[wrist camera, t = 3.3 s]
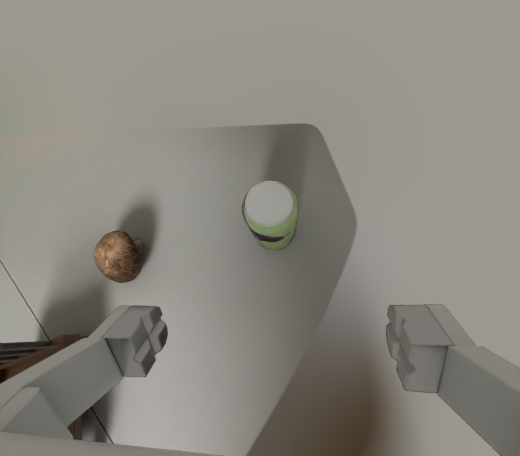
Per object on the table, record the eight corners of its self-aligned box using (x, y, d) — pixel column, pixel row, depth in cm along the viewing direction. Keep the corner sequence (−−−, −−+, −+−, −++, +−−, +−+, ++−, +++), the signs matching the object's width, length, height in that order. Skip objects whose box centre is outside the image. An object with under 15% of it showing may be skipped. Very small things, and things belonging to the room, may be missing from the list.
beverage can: (274, 205, 38) (258, 156, 27) (312, 234, 35) (311, 192, 24) (246, 235, 37) (217, 197, 26) (282, 267, 34) (267, 239, 24)
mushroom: (141, 215, 38) (100, 224, 33) (167, 260, 38) (130, 277, 33) (117, 238, 42) (78, 249, 37) (140, 279, 42) (104, 296, 37)
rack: (104, 473, 30) (-3, 546, 20) (22, 502, 30) (-122, 587, 20) (98, 334, 36) (15, 335, 26) (31, 360, 37) (-75, 371, 27)
